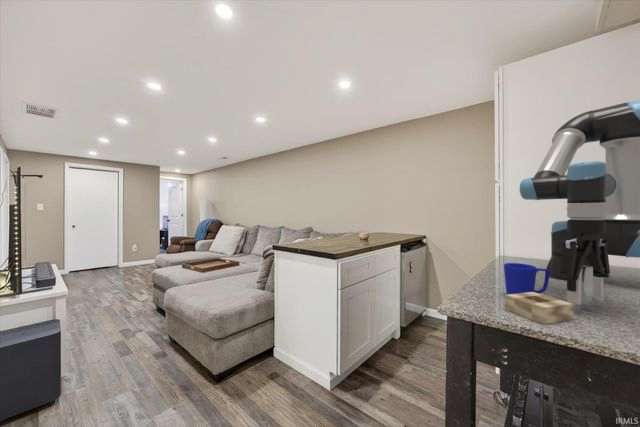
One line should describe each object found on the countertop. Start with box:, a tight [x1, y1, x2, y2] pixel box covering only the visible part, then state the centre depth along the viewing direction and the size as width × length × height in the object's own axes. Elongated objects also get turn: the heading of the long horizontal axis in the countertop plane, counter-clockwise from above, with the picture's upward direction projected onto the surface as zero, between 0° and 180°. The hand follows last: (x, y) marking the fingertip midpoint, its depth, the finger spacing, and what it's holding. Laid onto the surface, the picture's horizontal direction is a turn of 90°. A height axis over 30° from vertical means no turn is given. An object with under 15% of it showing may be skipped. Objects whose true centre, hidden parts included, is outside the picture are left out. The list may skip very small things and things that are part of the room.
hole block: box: [504, 292, 575, 325], centre depth 69 cm, size 10×10×4 cm
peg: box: [576, 265, 594, 312], centre depth 72 cm, size 3×3×12 cm
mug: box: [503, 262, 550, 295], centre depth 82 cm, size 8×12×10 cm
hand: (585, 301), depth 72 cm, fingers open, 8 cm apart
